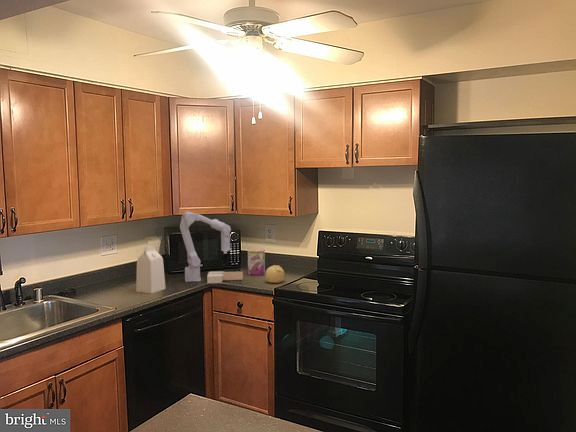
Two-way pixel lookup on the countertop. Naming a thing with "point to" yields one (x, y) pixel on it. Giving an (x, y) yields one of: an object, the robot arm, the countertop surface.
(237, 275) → the thin wooden plank
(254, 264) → the candy bar box
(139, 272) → the milk
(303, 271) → the countertop surface
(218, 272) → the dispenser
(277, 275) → the beige round lump
